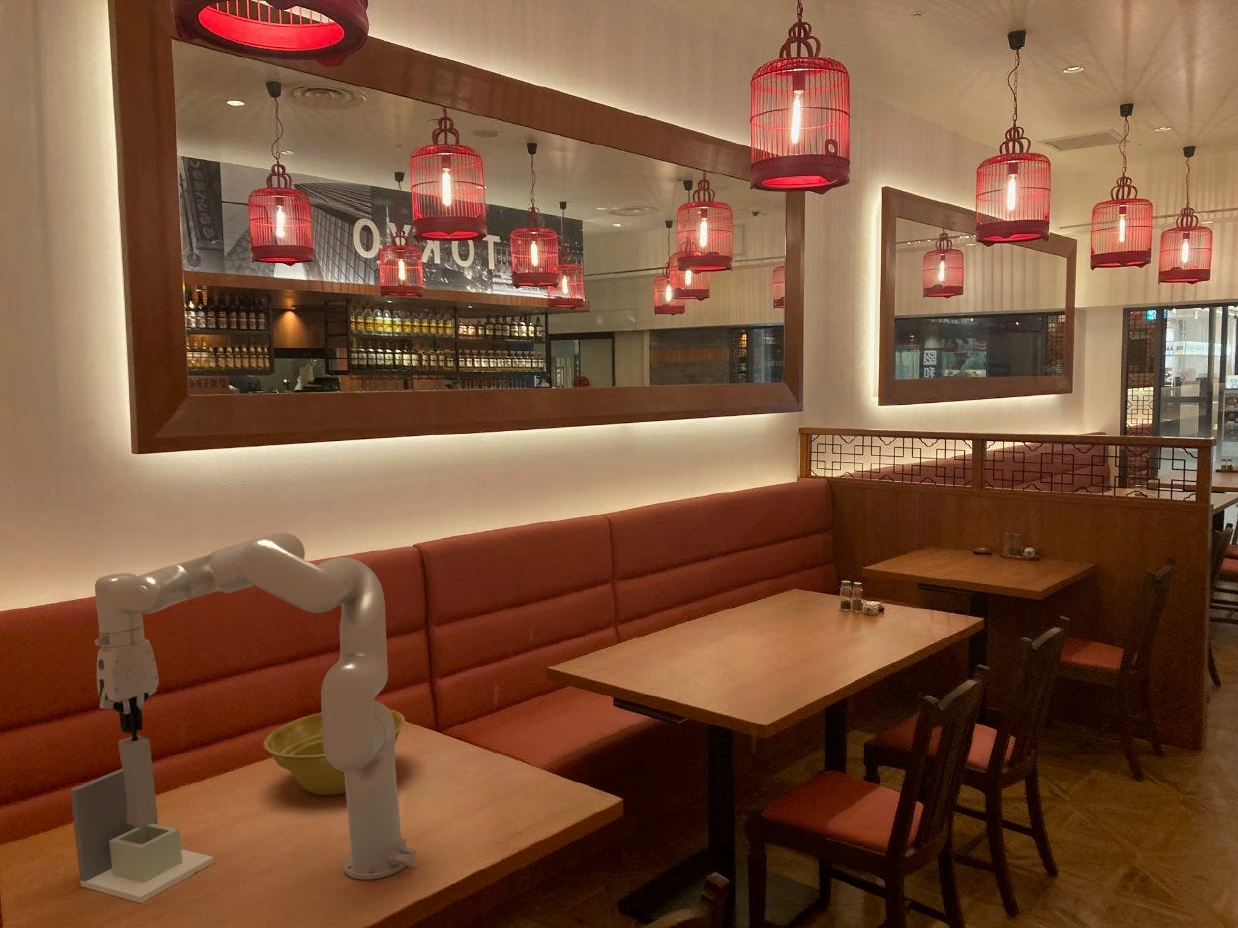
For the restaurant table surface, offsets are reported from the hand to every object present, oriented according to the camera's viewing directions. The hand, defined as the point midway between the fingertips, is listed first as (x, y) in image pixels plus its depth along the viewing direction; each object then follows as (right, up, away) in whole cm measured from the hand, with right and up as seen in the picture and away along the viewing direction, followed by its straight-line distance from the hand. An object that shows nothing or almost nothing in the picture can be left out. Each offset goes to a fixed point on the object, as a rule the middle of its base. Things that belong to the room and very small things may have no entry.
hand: (132, 730), depth 181 cm
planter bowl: (+28, -25, +41) cm, 56 cm away
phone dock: (+2, -29, +2) cm, 29 cm away
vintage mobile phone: (+1, -19, +1) cm, 19 cm away
